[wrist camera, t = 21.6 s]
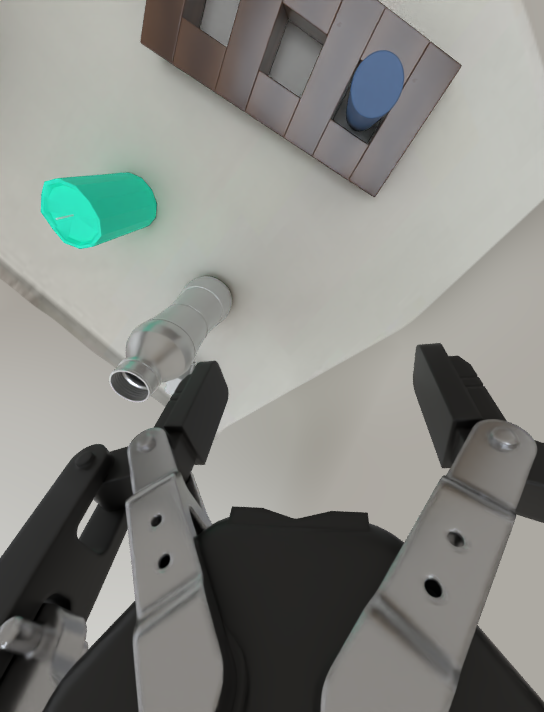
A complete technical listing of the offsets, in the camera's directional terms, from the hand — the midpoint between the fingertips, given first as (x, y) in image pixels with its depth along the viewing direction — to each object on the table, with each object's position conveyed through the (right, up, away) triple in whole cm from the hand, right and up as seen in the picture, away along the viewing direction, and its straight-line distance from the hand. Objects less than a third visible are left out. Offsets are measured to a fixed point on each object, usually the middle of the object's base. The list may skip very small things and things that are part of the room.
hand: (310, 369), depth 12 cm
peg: (+7, +23, +15) cm, 28 cm away
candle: (-18, +20, +23) cm, 36 cm away
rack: (+1, +27, +14) cm, 30 cm away
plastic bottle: (-10, +9, +29) cm, 32 cm away
